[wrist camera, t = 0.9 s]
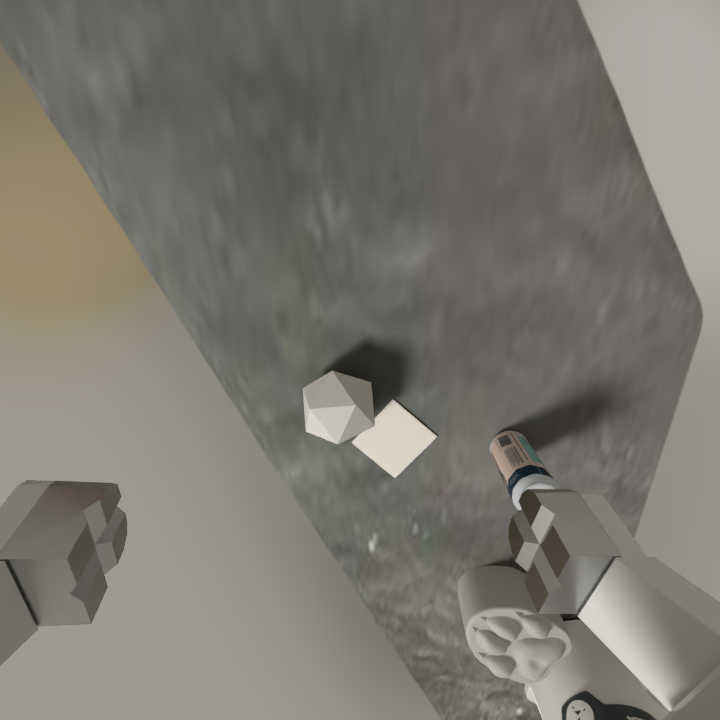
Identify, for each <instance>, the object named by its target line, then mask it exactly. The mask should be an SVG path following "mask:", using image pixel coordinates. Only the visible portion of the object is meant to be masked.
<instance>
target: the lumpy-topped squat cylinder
mask: <svg viewBox="0 0 720 720" xmlns="http://www.w3.org/2000/svg"><path fill="white" fill-rule="evenodd" d="M525 576H526V574H525V573H523V572H521V571H519V570H517V569H515V568H512V567H507V566H481V567H477V568H474V569H471V570H469V571H467V572H466V573H464V574H463V575H462V577H461V578H460V580H459V582H458V597H459V602H460V607H461V612H462V618H463V623H464V628H465V633H466V638H467V642H468V644H469V646H470V648H471V650H472V651H473V653H474V655H475V656H476V657H477V659H478V660H479V661H480V662H481V663H483V664H484V665H486V666H487V667H489V669H490V670H491V671H492V673H493V674H495V675H496V676H498V677H500V678H510V679H512V680H514V681H517V682H520V683H524V684H530V683H536V682H540V681H542V680H543V679H545V678H546V677H547V676H548V674H549V673H550V671H551V670H552V668H553V667H554V666H555V665H556V664H557V663H558V662H560V661H561V660H562V659H564V658H565V657H566V656H567V655H568V654H569V653H570V652H571V650H572V640H571V637H570V635H569V632H568V630H567V628H566V626H565V624H564V622H563V619H562V617H561V615H560V614H538V613H537V610H536V608H535V606H534V603H533V601H532V599H531V597H530V594H529V592H528V590H527V587H526V585H525V583H524V580H525Z"/></svg>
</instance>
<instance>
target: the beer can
mask: <svg viewBox="0 0 720 720" xmlns="http://www.w3.org/2000/svg"><path fill="white" fill-rule="evenodd" d="M490 454H491V456H492V459H493V461H494V463H495V465H496V467H497V469H498V471H499V473H500V476H501V478H502V480H503V482H504V484H505V486H506V488H507V490H508V493H509V495H510V497H511V499H512V501H513V503H514V505H515V506H516V508H517V509H518V510H519V511H520V510H521V509H522V508H521V506H520V504H519V502H518V501H519V499H520V497H521V495H522V493H523V492H524V491H525V490H527V489H560V488H559V486H558V484H557V483H556V481H555V480H554V479H553V477H552V476H551V475H550V473H549V472H548V470H547V469H546V467H545V466H544V464H543V463H542V461H541V460H540V459H539V457H538V456H537V454H536V453H535V451H534V450H533V448H532V447H531V446H530V444H529V443H528V441H527V439H526V438H525V437H524V436H523V435H522V434H521V433H519V432H516V431H504V432H501V433H499V434H498V435H496V436H495V437H494V438H493V440H492V441H491V444H490Z"/></svg>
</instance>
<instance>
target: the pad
mask: <svg viewBox="0 0 720 720" xmlns="http://www.w3.org/2000/svg"><path fill="white" fill-rule="evenodd" d="M374 420H375V426H374V427H372V428H370V429H368V430H366V431H364V432H362V433H360V434H359V435H358V436H357V437H356V438H355V439H354V440H353V441H352V443H353V444H354V445H355V446H356V447H357V448H359V449H360V450H361V451H362V452H364V453H365V454H366V455H367V456H368V457H370V458H371V459H372V460H373V461H375V462H376V463H377V464H378V465H379V466H381V467H382V468H383V469H384V470H386V471H387V472H388V473H389V474H390V475H392V476H393V477H394V478H396V477H397V476H398V475H399V474H400V473H401V472H402V471H403V470H404V469H405V468H406V467H407V466H408V465H409V464H410V463H411V462H412V461H413V460H414V459H415V458H416V457H417V456H418V455H419V454H420V453H421V452H422V451H423V450H424V449H425V448H426V447H427V446H428V445H429V444H430V443H431V442H432V441H433V440H434V439H436V438H437V436H436V435H435V434H434V433H433V432H431V431H430V430H429V429H428V428H427V427H426V426H424V425H423V424H422V423H421V422H420V421H418V420H417V419H416V418H415V417H414V416H413V415H411V414H410V413H409V412H408V411H407V410H405V409H404V408H403V407H402V406H401V405H400V404H398V403H397V402H396V401H395V400H394V399H392V400H391V401H390V403H389V404H388V405H387V406H386V407H385V408H384V409H383V410H382V411H381V412H380V413H379V414H378V415H377V416H376V417H375V418H374Z"/></svg>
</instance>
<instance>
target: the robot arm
mask: <svg viewBox="0 0 720 720" xmlns="http://www.w3.org/2000/svg"><path fill="white" fill-rule="evenodd" d="M120 498H121V494H120V491H119V488H118V485H117V484H113V483H95V482H72V481H35V480H26V481H25V482H23V483H22V484H20V485H18V486H17V487H16V488H15V490H14V491H13V492H12V493H11V495H10V496H9V497H8V498H7V499H6V501H5V502H4V503H3V505H2V506H1V507H0V665H1V664H2V663H3V662H4V661H6V659H8V658H9V657H10V656H11V655H12V654H13V653H14V652H15V651H16V650H17V649H18V648H19V647H20V646H21V645H22V644H23V643H24V642H25V641H27V640H28V639H29V638H30V637H31V636H32V635H33V634H34V633H35V632H36V631H37V630H38V628H37V627H38V626H58V625H77V624H91V623H92V621H93V619H94V616H95V614H96V612H97V610H98V607H99V605H100V603H101V600H102V598H103V596H104V594H105V592H106V589H107V583H106V580H105V576H104V574H106V573H107V572H108V571H109V570H110V569H112V568H113V567H114V566H115V565H117V564H118V561H119V559H120V557H121V554H122V552H123V550H124V545H125V541H126V536H127V519H126V515H125V513H124V512H123V511H122V510H121V509H120V508H118V507H117V504H118V502H119V500H120ZM518 502H519V504H520V506H521V508H522V509H521V510H520V511H518V512H517V513H516V514H514V515H513V516H512V518H511V521H510V524H509V526H508V540H509V545H510V549H511V552H512V554H513V557H514V559H515V561H516V562H517V563H518V564H519V565H520V566H521V567H522V568H523V569H525V570H526V571H527V572H526V576H525V580H524V583H525V585H526V587H527V590H528V592H529V594H530V597H531V599H532V601H533V603H534V606H535V608H536V610H537V613H538V614H579V615H578V617H579V618H580V619H581V620H570V621H564V624H565V626H566V628H567V630H568V632H569V635H570V637H571V640H572V650H571V652H570V653H569V654H568V655H567V656H566V657H565V658H564V659H562V660H561V661H560V662H558V663H557V664H556V665H555V666H554V667H553V668H552V670H551V671H550V673H549V674H548V676H547V677H546V678H545V679H543V680H542V681H540V682H536V683H530V684H525V688H524V691H525V693H526V696H527V698H528V699H529V700H530V701H531V702H533V703H535V704H537V706H538V709H539V711H540V714H541V717H542V719H543V720H720V602H719V601H717V600H716V599H714V598H713V597H711V596H710V595H709V594H707V593H706V592H704V591H703V590H701V589H700V588H698V587H697V586H696V585H694V584H692V583H691V582H690V581H688V580H687V579H685V578H684V577H682V576H681V575H680V574H678V573H677V572H675V571H674V570H672V569H671V568H669V567H668V566H667V565H665V564H664V563H662V562H661V561H659V560H658V559H656V558H654V557H647V556H646V554H645V553H644V552H643V550H642V549H641V548H640V546H639V545H638V543H637V542H636V541H635V539H634V538H633V536H632V535H631V534H630V532H629V531H628V530H627V528H626V527H625V525H624V524H623V523H622V521H621V520H620V519H619V517H618V516H617V514H616V513H615V512H614V510H613V509H612V508H611V506H610V505H609V503H608V502H607V501H606V499H605V498H604V497H603V495H602V494H601V493H599V492H598V491H596V490H580V489H573V490H569V489H527V490H525V491H524V492H523V493H522V495H521V497H520V499H519V501H518Z"/></svg>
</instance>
